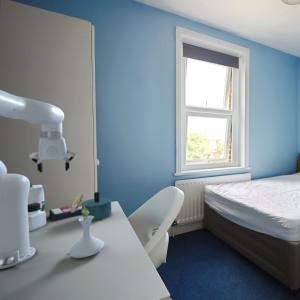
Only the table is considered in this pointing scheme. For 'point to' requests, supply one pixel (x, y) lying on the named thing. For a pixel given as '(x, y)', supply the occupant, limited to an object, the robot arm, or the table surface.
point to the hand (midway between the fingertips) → (54, 171)
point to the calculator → (64, 213)
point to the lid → (96, 201)
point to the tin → (99, 211)
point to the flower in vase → (85, 234)
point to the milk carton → (36, 195)
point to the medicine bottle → (35, 216)
